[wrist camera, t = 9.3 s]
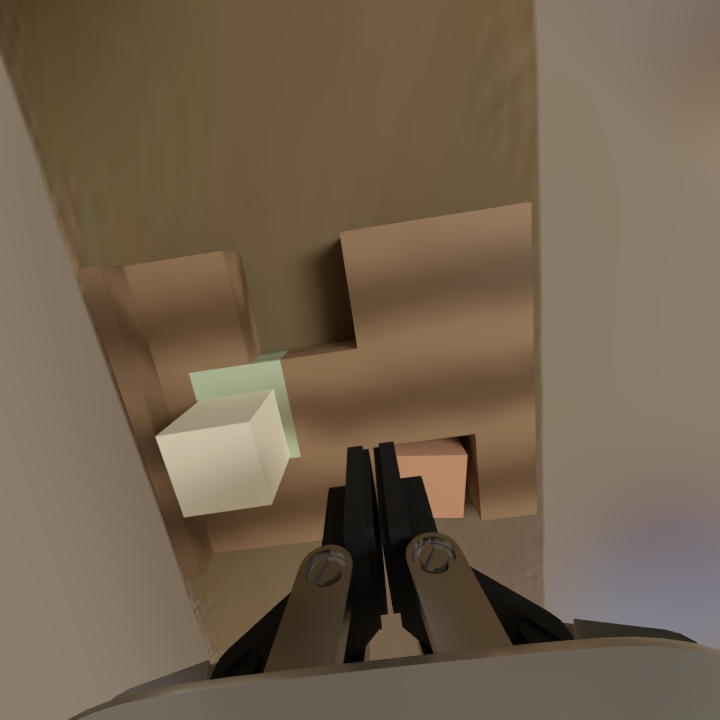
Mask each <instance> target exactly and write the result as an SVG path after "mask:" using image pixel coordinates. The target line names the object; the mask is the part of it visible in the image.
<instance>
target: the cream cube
mask: <svg viewBox="0 0 720 720" xmlns="http://www.w3.org/2000/svg"><path fill="white" fill-rule="evenodd" d="M155 437H156V440H157V443H158V446H159V449H160V451H161V454H162V457H163V460H164V463H165V465H166V468H167V471H168V474H169V477H170V480H171V482H172V485H173V488H174V491H175V494H176V497H177V499H178V502H179V505H180V508H181V511H182V514H183V516H184V517H190V516H197V515H204V514H211V513H218V512H225V511H232V510H239V509H246V508H253V507H260V506H266V505H272V503H273V500H274V497H275V495H276V492H277V490H278V487H279V484H280V482H281V479H282V476H283V474H284V471H285V468H286V466H287V463H288V461H289V458H290V454H289V450H288V446H287V442H286V438H285V434H284V430H283V426H282V422H281V418H280V414H279V410H278V406H277V402H276V398H275V394H274V389H269V390H263V391H257V392H250V393H244V394H238V395H232V396H225V397H219V398H213V399H207V400H201V401H198V402H197V403H196V404H195V405H193V406H192V407H191V408H190V409H189V410H187V411H186V412H185V413H184V414H182V415H181V416H180V417H179V418H177V419H176V420H175V421H174V422H173V423H171V424H170V425H169V426H168V427H166V428H165V429H164V430H163V431H161V432H160V433H159V434H158V435H157V436H155Z"/></svg>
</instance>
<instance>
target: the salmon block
mask: <svg viewBox="0 0 720 720" xmlns="http://www.w3.org/2000/svg"><path fill="white" fill-rule="evenodd" d="M394 446H395V452H396V457H397V462H398V467H399V472H400V478H407V477H414V476H421V477H422V479H423V483H424V486H425V490H426V493H427V497H428V500H429V504H430V507H431V511H432V514H433V518H463V513H464V499H465V485H466V471H467V457H468V455H467V453H466V451H465V450H464V448H463V446H462V444H461V443H460V441H459V439H458V437H457V436H456V437H448V438H441V439H433V440H426V441H418V442H411V443H403V444H395V445H394Z"/></svg>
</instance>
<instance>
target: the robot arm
mask: <svg viewBox="0 0 720 720" xmlns="http://www.w3.org/2000/svg"><path fill="white" fill-rule="evenodd" d="M373 450H374V462H375V474H376V486H377V496H376V490H375V484H374V478H373V471H372V465H371V459H370V453H369V449H363V446H354V447H348V448H347V463H346V483H345V486H338V487H330V488H329V491H328V498H327V506H326V515H325V523H324V531H323V540H322V546H321V547H319V548H316V549H315V550H313V551H312V552H310V553H309V554H308V555H307V556H306V557H305V558H304V559H303V561H302V563H301V565H300V567H299V570H298V573H297V576H296V579H295V582H294V585H293V587H292V590H291V592H290V593H289V594H288V595H287V596H286V597H285V598H284V599H283V600H282V601H281V602H279V603H278V604H277V605H276V606H275V607H274V608H273V609H272V610H271V611H270V612H268V613H267V614H266V615H265V616H264V617H263V618H262V619H261V620H260V621H259V622H258V623H256V624H255V625H254V626H253V627H252V628H251V629H250V630H249V631H248V632H247V633H245V634H244V635H243V636H242V637H241V638H240V639H239V640H238V641H237V642H236V643H235V644H233V645H232V646H231V647H230V648H229V649H228V650H227V651H226V652H225V653H224V655H223V656H222V657H221V658H220V660H219V661H218V662H217V663H214V664H212V665H211V664H210V661H209V660H207V661H205V662H202V663H199V664H196V665H194V666H191V667H188V668H185V669H183V670H180V671H177V672H174V673H172V674H169V675H166V676H163V677H161V678H158V679H155V680H153V681H150V682H147V683H144V684H142V685H139V686H136V687H134V688H131V689H128V690H126V691H124V692H123V693H121V694H119V695H117V696H116V697H115V698H113V699H112V700H110V701H108V702H105V703H103V704H100V705H97V706H95V707H92V708H90V709H87V710H85V711H84V712H82V713H80V714H78V715H76V716H74V717H72V718H70V719H68V720H720V650H719V649H715V648H711V647H707V646H704V645H699V644H698V643H697V642H695V641H694V640H692V639H689V638H688V637H686V636H684V635H682V634H680V633H676V632H673V631H669V630H665V629H656V628H647V627H640V626H630V625H621V624H614V623H606V622H597V621H589V620H581V619H574V624H570V623H562V621H561V620H560V619H558V618H557V617H555V616H554V615H553V614H551V613H550V612H548V611H547V610H545V609H543V608H541V607H540V606H538V605H536V604H534V603H533V602H531V601H529V600H528V599H526V598H524V597H522V596H521V595H519V594H517V593H515V592H514V591H512V590H510V589H508V588H507V587H505V586H503V585H501V584H500V583H498V582H496V581H494V580H493V579H491V578H489V577H488V576H486V575H484V574H482V573H481V572H479V571H477V570H475V569H474V568H472V567H470V565H469V563H468V562H467V560H466V558H465V556H464V554H463V552H462V551H461V549H460V547H459V546H458V544H457V543H456V542H455V541H454V540H453V539H451V538H450V537H449V536H446V535H444V534H441V533H438V531H437V528H436V525H435V521H434V518H433V514H432V511H431V507H430V504H429V500H428V497H427V493H426V490H425V486H424V483H423V479H422V477H421V476H414V477H407V478H400V472H399V467H398V462H397V457H396V452H395V446H394V441H391V442H384V443H379V447H378V448H373ZM377 499H378V503H377ZM381 538H382V539H381ZM382 545H383V550H382ZM383 551H384V557H385V563H386V569H387V575H388V582H389V588H390V594H391V600H392V606H393V612H394V614H395V613H401V620H402V626H403V628H405V629H406V630H407V631H408V632H409V633H411V634H412V635H413V636H414V637H415V638H417V640H418V646H419V651H420V654H421V655H418V656H409V657H400V658H391V659H382V660H373V661H369V655H370V649H369V642H370V640H371V639H372V638H373V637H374V635H375V634H376V633H377V632H378V630H379V629H382V625H381V615H386V614H388V609H387V598H386V586H385V574H384V562H383Z"/></svg>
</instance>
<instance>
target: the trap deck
mask: <svg viewBox="0 0 720 720" xmlns="http://www.w3.org/2000/svg"><path fill="white" fill-rule="evenodd" d="M340 239H341V245H342V251H343V258H344V264H345V271H346V277H347V284H348V290H349V297H350V303H351V310H352V316H353V323H354V329H355V336H356V340H349V341H342V342H336V343H329V344H322V345H315V346H308V347H301V348H294V349H287V350H280V351H274V352H267V353H262V349H261V345H260V341H259V336H258V332H257V327H256V323H255V319H254V314H253V310H252V306H251V301H250V297H249V292H248V288H247V284H246V279H245V275H244V270H243V266H242V262H241V257H240V253H235V252H228V251H217V252H211V253H205V254H199V255H192V256H186V257H180V258H173V259H167V260H161V261H154V262H148V263H142V264H135V265H129V266H96V267H90V268H83V269H78V271H79V274H80V277H81V280H82V283H83V286H84V289H85V292H86V294H87V297H88V300H89V303H90V306H91V309H92V312H93V315H94V317H95V320H96V323H97V326H98V329H99V332H100V335H101V338H102V340H103V343H104V346H105V349H106V352H107V355H108V358H109V361H110V364H111V366H112V369H113V372H114V375H115V378H116V381H117V384H118V387H119V389H120V392H121V395H122V398H123V401H124V404H125V407H126V410H127V412H128V415H129V418H130V421H131V424H132V427H133V430H134V433H135V435H136V438H137V441H138V444H139V447H140V450H141V453H142V456H143V458H144V461H145V464H146V467H147V470H148V473H149V476H150V479H151V481H152V484H153V487H154V490H155V493H156V496H157V499H158V502H159V505H160V507H161V510H162V513H163V516H164V519H165V522H166V525H167V528H168V530H169V533H170V536H171V539H172V542H173V545H174V548H175V551H176V553H177V556H178V559H179V562H180V565H181V568H182V571H183V574H184V576H185V578H193V577H201V576H202V575H203V573H204V571H205V570H206V568H207V566H208V564H209V562H210V560H211V558H212V556H213V554H214V553H220V552H229V551H237V550H245V549H253V548H262V547H270V546H278V545H286V544H294V543H303V542H311V541H319V540H323V531H324V523H325V515H326V506H327V498H328V491H329V488H330V487H338V486H345V483H346V463H347V448H348V447H354V446H363V449H369V453H370V459H371V465H372V471H373V478H374V484H375V490H376V496H377V486H376V474H375V462H374V450H373V448H374V447H379V443H384V442H391V441H394V445H395V444H403V443H411V442H418V441H426V440H433V439H441V438H448V437H456V436H464V439H465V451H466V453H467V455H468V457H467V477H468V490H469V496H470V498H471V500H472V502H473V504H474V506H475V508H476V511H477V513H478V515H479V517H480V519H481V521H484V520H492V519H500V518H508V517H517V516H525V515H533V514H537V489H536V436H535V382H534V329H533V276H532V223H531V202H527V203H521V204H514V205H508V206H502V207H495V208H489V209H483V210H476V211H470V212H464V213H457V214H451V215H445V216H438V217H432V218H426V219H420V220H413V221H407V222H401V223H394V224H388V225H382V226H375V227H369V228H363V229H356V230H350V231H344V232H340ZM269 389H274V394H275V398H276V402H277V406H278V410H279V414H280V418H281V422H282V426H283V430H284V434H285V438H286V442H287V446H288V450H289V454H290V458H289V461H288V463H287V466H286V468H285V471H284V474H283V476H282V479H281V482H280V484H279V487H278V490H277V492H276V495H275V497H274V500H273V503H272V505H266V506H260V507H253V508H246V509H239V510H232V511H225V512H218V513H211V514H204V515H197V516H190V517H184V516H183V514H182V511H181V508H180V505H179V502H178V499H177V497H176V494H175V491H174V488H173V485H172V482H171V480H170V477H169V474H168V471H167V468H166V465H165V463H164V460H163V457H162V454H161V451H160V449H159V446H158V443H157V440H156V437H155V436H157V435H158V434H159V433H160V432H161V431H163V430H164V429H165V428H166V427H168V426H169V425H170V424H171V423H173V422H174V421H175V420H176V419H177V418H179V417H180V416H181V415H182V414H184V413H185V412H186V411H187V410H189V409H190V408H191V407H192V406H193V405H195V404H196V403H197V402H198V401H201V400H207V399H213V398H219V397H225V396H232V395H238V394H244V393H250V392H257V391H263V390H269ZM377 503H378V499H377Z"/></svg>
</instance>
